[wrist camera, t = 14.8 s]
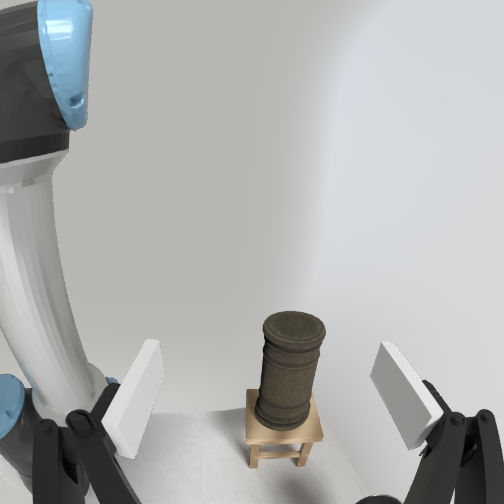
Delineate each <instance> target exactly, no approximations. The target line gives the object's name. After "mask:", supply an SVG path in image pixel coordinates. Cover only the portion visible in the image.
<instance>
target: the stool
mask: <svg viewBox="0 0 504 504" xmlns="http://www.w3.org/2000/svg"><path fill="white" fill-rule="evenodd" d="M311 391H312V390H311ZM258 396H259V389H247V394H246V444H251V450H250V468H257V466H258V459H270V458H293V457H297V460H296V463H297V466H304V465H305V463H306V460H307V458H308V455H309V453H310V450H311V448H312V445H313V442H316V441H322V439H323V432H322V428H321V424H320V420H319V416H318V413H317V409H316V405H315V401H314V398H313V394H312V396H311V399H310V404H311V407H310V413H309V416H308V418H307V420H306V421H305V422H304V423H303V424H302V425H301V426H300V427H298V428H296V429H293V430H289V431H276V430H271V429H269V428H267V427H265V426H263V425H262V424H261V423H260V422H259V421H258V420H257V418H256V415H255V405H256V400H257V398H258ZM291 443H302V445H301V448H300V451H295V452H273V453H259V450H260V444H291Z"/></svg>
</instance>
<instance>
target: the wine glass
mask: <svg viewBox="0 0 504 504" xmlns="http://www.w3.org/2000/svg"><path fill="white" fill-rule="evenodd" d="M356 504H402V503H401V502H400V501H399V500H398V499H396V498H394V497H392V496H389V495H382V494H378V495H372V496H368V497H365V498H363V499H361V500H360V501H358V502H357V503H356Z"/></svg>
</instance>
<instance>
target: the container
mask: <svg viewBox="0 0 504 504" xmlns="http://www.w3.org/2000/svg"><path fill="white" fill-rule="evenodd" d="M263 333H264V339H265V345H264V347H263V362H262V363H263V364H262V374H261V385H260V388H259V396H258V398H257V400H256V405H255V415H256V418H257V420H258V421H259V422H260V423H261V424H262V425H263V426H265V427H267V428H269V429H271V430H276V431H289V430H293V429H296V428H298V427H300V426H301V425H302V424H303V423H304V422H305V421H306V420H307V418H308V416H309V413H310V407H311V404H310V399H311V396H312V391H311V390H312V385H313V381H314V376H315V371H316V367H317V362H318V359H319V356H320V351H319V349H320V346H321V344H322V341H323V339H324V337H325V335H326V330H325V326H324V324H323V322H322V321H321V320H320V319H318V318H317V317H315V316H313V315H311V314H307V313H304V312H296V311H284V312H278V313H275V314H272V315H270V316H269V317H268V318H267V319H266V320H265V322H264V324H263Z"/></svg>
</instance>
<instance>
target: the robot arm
mask: <svg viewBox="0 0 504 504" xmlns="http://www.w3.org/2000/svg"><path fill="white" fill-rule="evenodd" d="M92 20H93V9H92V5H91V4H90V2H89V1H88V0H38V1H34V2H29V3H25V4H20V5H16V6H13V7H9V8H5V9H2V10H0V328H1V330H2V332H3V334H4V337H5V339H6V341H7V343H8V345H9V347H10V349H11V351H12V353H13V355H14V357H15V358H16V360H17V362H18V364H19V366H20V368H21V369H22V371H23V373H24V375H25V376H26V378H27V380H28V381H29V382H30V384H31V386H32V388H25V387H24V385H23V383H22V382H21V381H20V380H19V379H18V378H16V377H15V376H14V375H11V374H1V375H0V454H1V455H2V456H3V457H4V458H5V459H6V460H7V461H8V462H9V463H10V464H11V465H12V466H13V467H14V468H15V469H16V470H17V471H18V473H19V475H20V477H21V479H22V481H23V483H24V484H25V486H26V487H27V489H28V490H29V491H30V492H31V493H32V494H33V504H85V499H84V497H85V495H86V493H87V491H88V488H89V481H90V483H91V485H92V488H93V490H94V492H95V494H96V496H97V498H98V500H99V502H100V504H142V503H141V502H140V500H139V499H138V497H137V495H136V494H135V492H134V490H133V489H132V487H131V485H130V484H129V482H128V480H127V478H126V477H125V475H124V473H123V471H122V469H121V468H120V466H119V464H118V462H117V460H116V458H115V456H114V455H115V454H117V453H119V455H120V456H123V457H127V458H131V459H135V457H136V454H137V452H138V449H139V446H140V443H141V440H142V437H143V435H144V432H145V429H146V426H147V423H148V421H149V418H150V415H151V412H152V410H153V407H154V404H155V402H156V399H157V396H158V394H159V391H160V388H161V386H162V383H163V381H164V378H165V371H164V366H163V361H162V354H161V348H160V343H159V340H152V339H147V340H146V342H145V343H144V345H143V347H142V348H141V350H140V352H139V354H138V356H137V357H136V359H135V361H134V362H133V364H132V366H131V368H130V369H129V371H128V373H127V375H126V377H125V378H124V380H123V382H122V384H118V382H117V380H116V379H114V378H108V377H104V375H103V374H102V372H101V371H100V370H99V369H98V368H96V367H95V366H94V365H92V364H90V363H88V361H87V358H86V355H85V353H84V350H83V347H82V344H81V341H80V338H79V335H78V332H77V328H76V325H75V322H74V318H73V315H72V311H71V307H70V304H69V299H68V295H67V291H66V287H65V282H64V278H63V272H62V267H61V262H60V256H59V250H58V243H57V236H56V228H55V218H54V207H53V191H52V175H53V171H54V170H55V168H56V167H57V166H58V164H59V163H60V162H61V161H62V159H63V158H64V157H65V155H66V154H67V153H68V152H69V133H70V130H73V131H76V130H78V129H80V128H83V127H84V126H85V125H86V123H87V113H88V112H87V103H88V102H87V101H88V79H89V59H90V44H91V33H92ZM370 377H371V379H372V381H373V382H374V384H375V386H376V388H377V390H378V392H379V394H380V396H381V397H382V399H383V401H384V403H385V405H386V407H387V409H388V411H389V413H390V415H391V416H392V418H393V420H394V422H395V424H396V426H397V428H398V430H399V432H400V434H401V436H402V438H403V440H404V442H405V444H406V446H407V448H408V450H411V449H414V448H417V447H420V446H421V445H422V443H423V442H424V441H425V440H426V442H427V445H426V447H425V448H424V449H423V450H422V452H421V453H420V455H419V456H421V455H422V454H423V456H422V459H421V461H420V464H419V467H418V470H417V473H416V475H415V478H414V480H413V483H412V485H411V488H410V490H409V492H408V495H407V497H406V499H405V501H404V503H403V504H450V502H451V499H452V495H453V492H454V488H455V498H454V504H504V461H503V455H502V449H501V443H500V438H499V434H498V430H497V425H496V422H495V417H494V415H493V413H492V412H491V411H489V410H486V409H482V410H480V411H479V412H478V413H477V414H476V416H475V417H465V416H464V415H463V414H461V413H459V412H452V411H451V409H450V408H449V407H448V405H447V404H446V403H445V401H444V400H443V398H442V397H441V396H440V394H439V393H438V392H437V391H436V389H435V388H434V386H433V385H432V384H431V383H429V382H428V381H426V380H422V381H421V380H420V378H419V377H418V375H417V374H416V373H415V371H414V370H413V369H412V367H411V366H410V365H409V364H408V362H407V361H406V360H405V358H404V357H403V356H402V354H401V353H400V352H399V350H398V349H397V348H396V346H395V345H394V344H393V343H392V341H388V342H381V344H380V347H379V351H378V354H377V357H376V360H375V363H374V366H373V369H372V372H371V375H370Z"/></svg>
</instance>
